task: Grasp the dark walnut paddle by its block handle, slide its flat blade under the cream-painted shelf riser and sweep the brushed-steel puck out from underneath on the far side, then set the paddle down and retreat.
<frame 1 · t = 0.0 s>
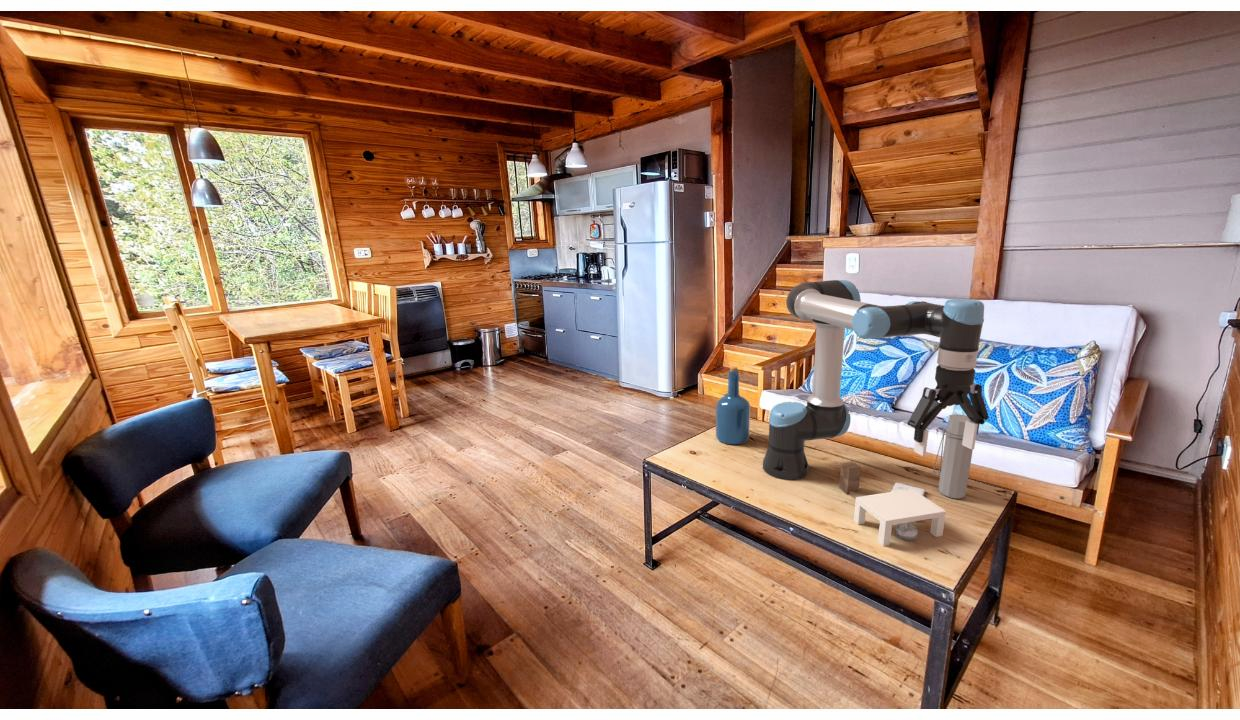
hand: (944, 450, 118), 28 cm above the table, fingers open, 13 cm apart
walnut paddle: (848, 490, 155), on the table
external hard drive: (905, 499, 150), on the table
water bottle: (947, 493, 151), on the table
shelf riser: (896, 528, 135), on the table
steel puck: (906, 536, 132), on the table
wine bottle: (732, 439, 197), on the table
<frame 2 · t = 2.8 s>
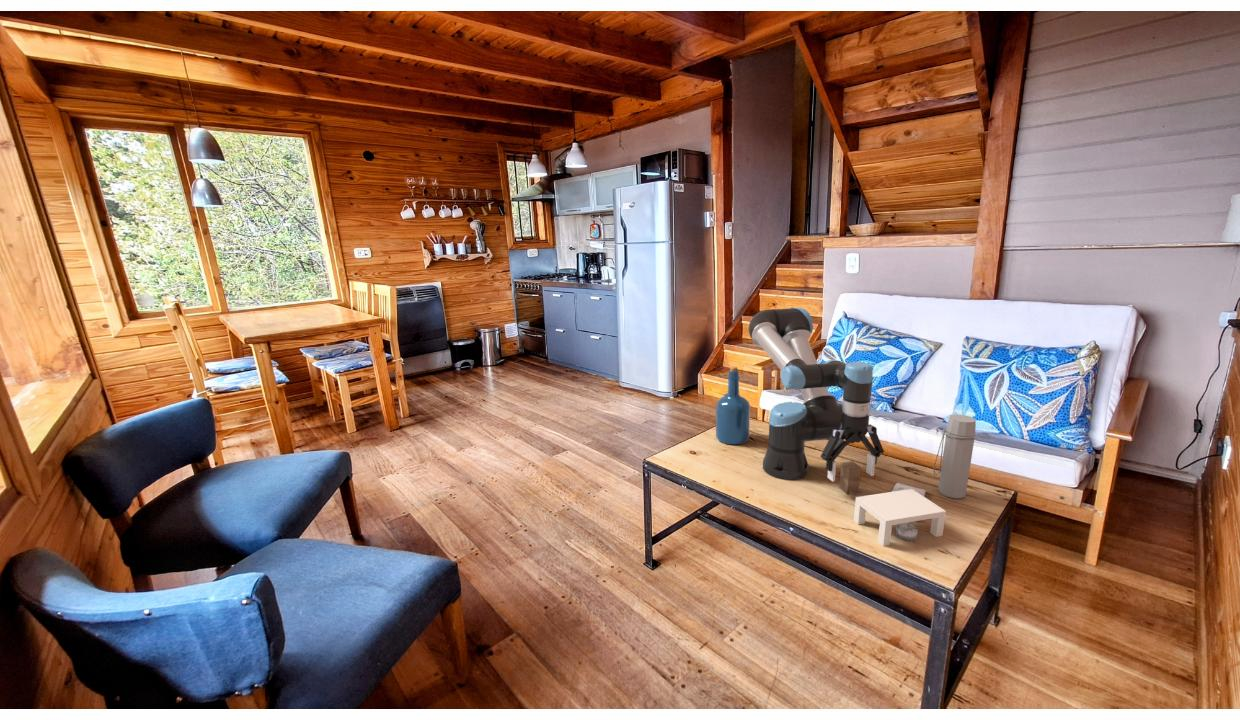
hand: (850, 476, 153), 5 cm above the table, fingers open, 13 cm apart
nothing on the table moved.
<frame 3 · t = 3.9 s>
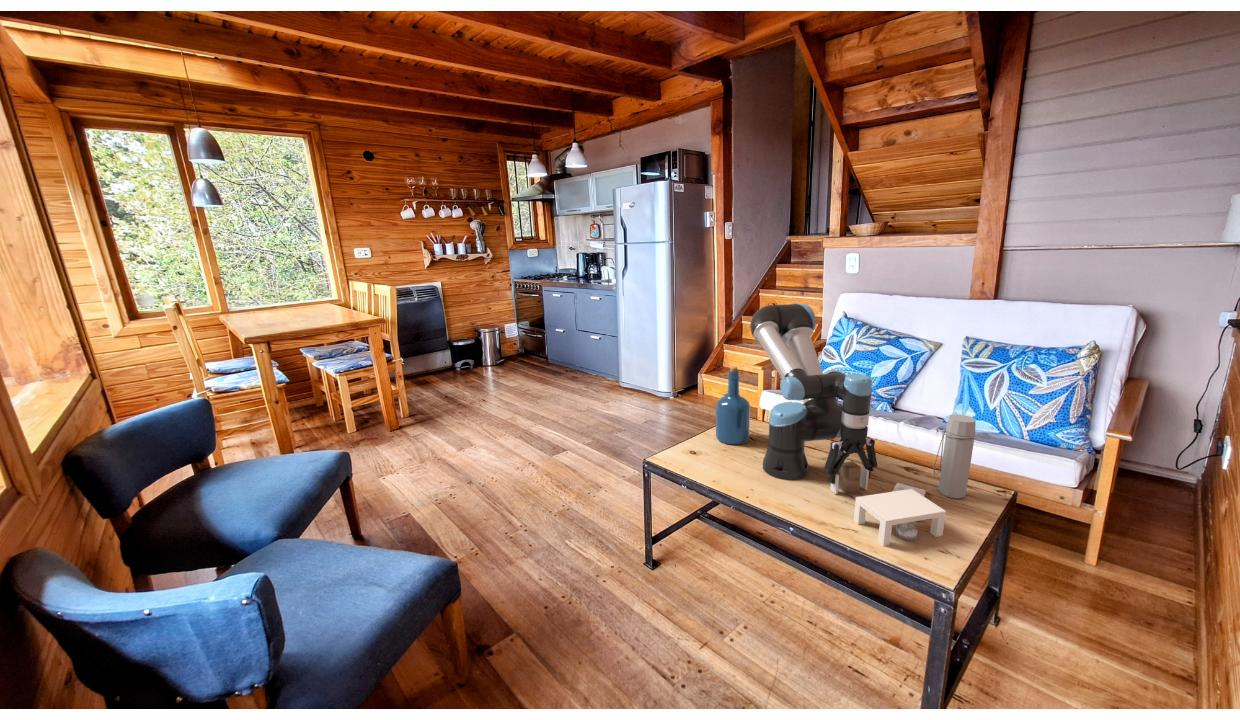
hand: (848, 489, 155), 0 cm above the table, fingers open, 10 cm apart
nothing on the table moved.
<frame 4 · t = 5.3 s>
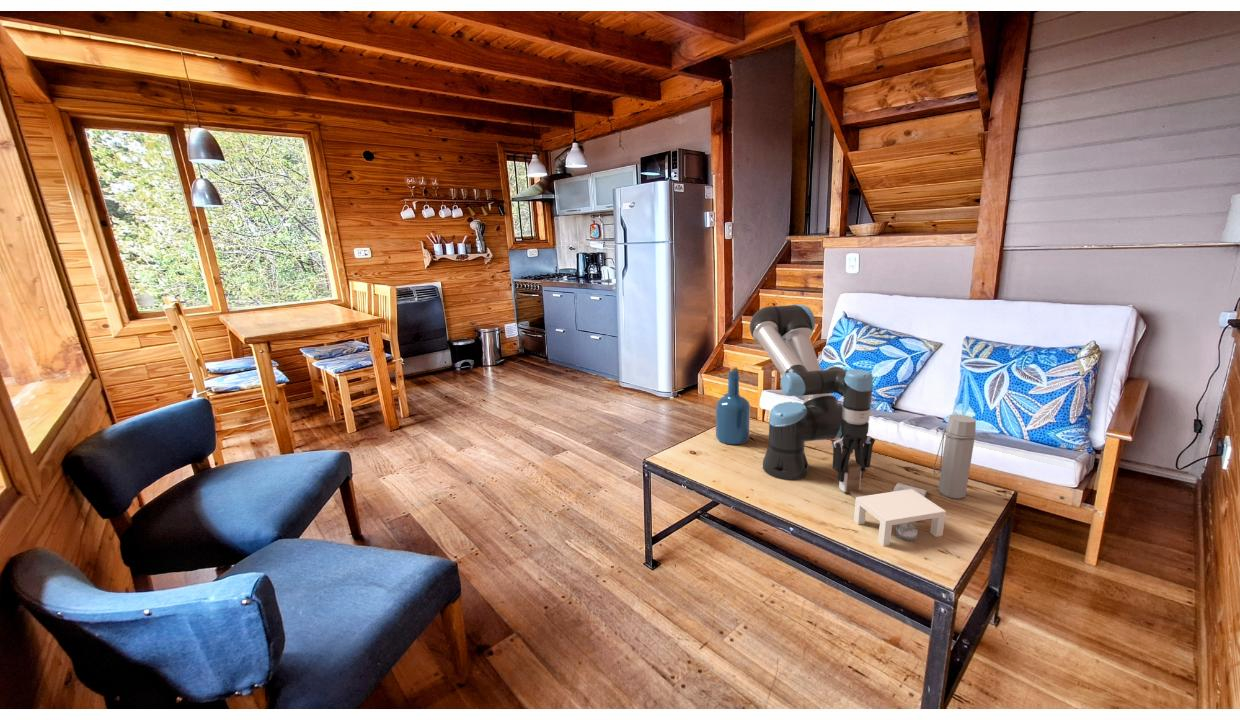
hand: (849, 488, 155), 1 cm above the table, fingers closed on walnut paddle, 4 cm apart
walnut paddle: (849, 489, 155), on the table, touching gripper
everything else where it was.
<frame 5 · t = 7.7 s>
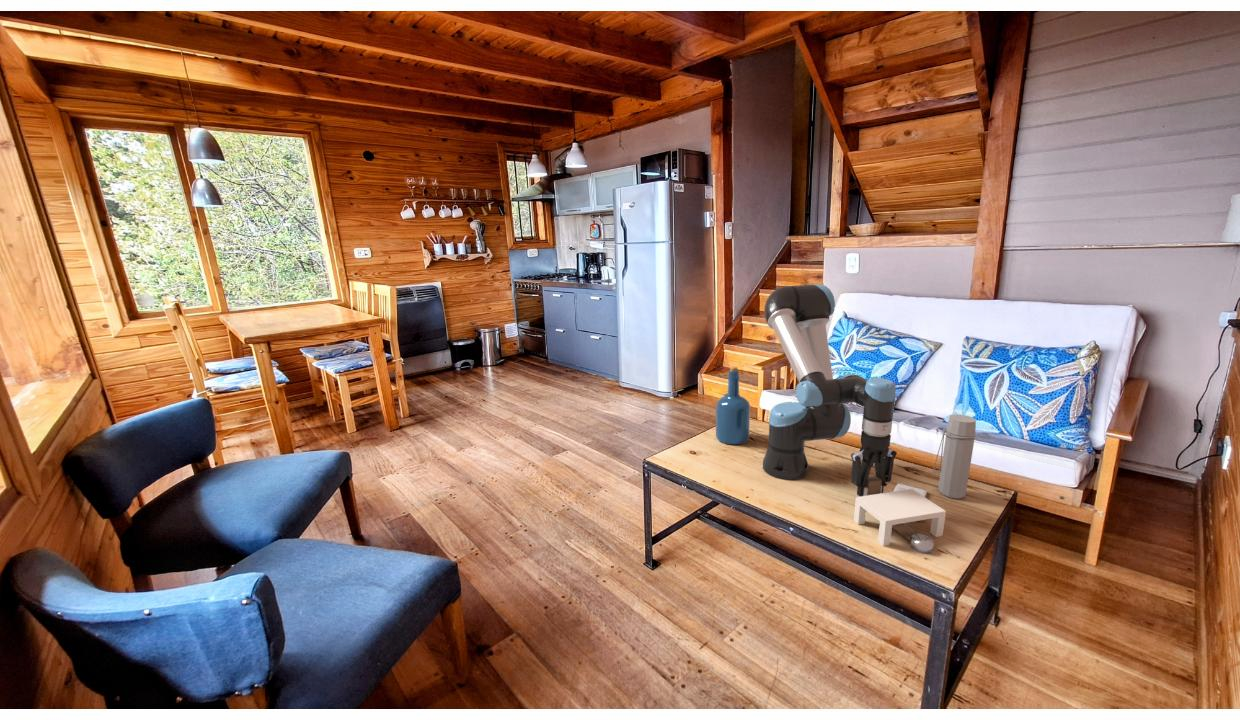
hand: (868, 504, 146), 1 cm above the table, fingers closed on walnut paddle, 4 cm apart
walnut paddle: (868, 504, 146), on the table, touching gripper
steel puck: (921, 548, 127), on the table
everything else where it was.
when the fingers open (1 cm above the table, at t = 9.3 s): walnut paddle stays where it is, on the table.
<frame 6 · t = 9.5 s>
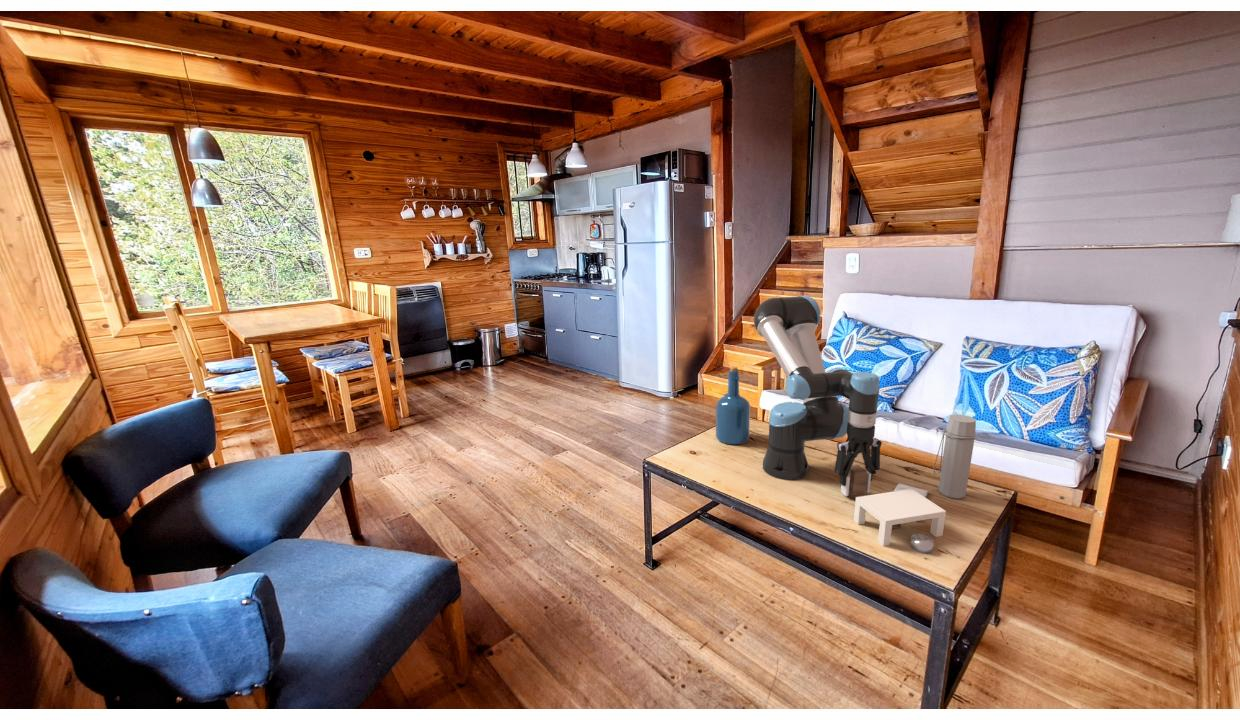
hand: (854, 492, 152), 1 cm above the table, fingers open, 7 cm apart
walnut paddle: (854, 494, 152), on the table
everything else where it was.
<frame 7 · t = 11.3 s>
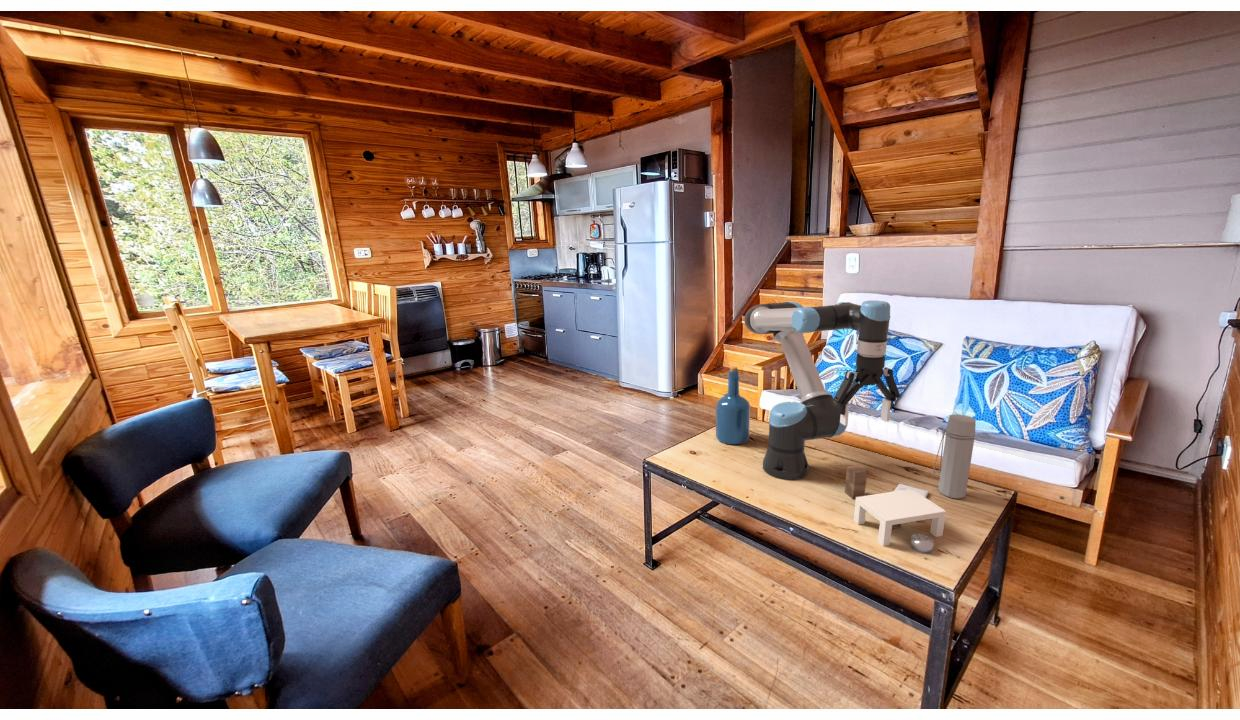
hand: (864, 422, 148), 24 cm above the table, fingers open, 13 cm apart
nothing on the table moved.
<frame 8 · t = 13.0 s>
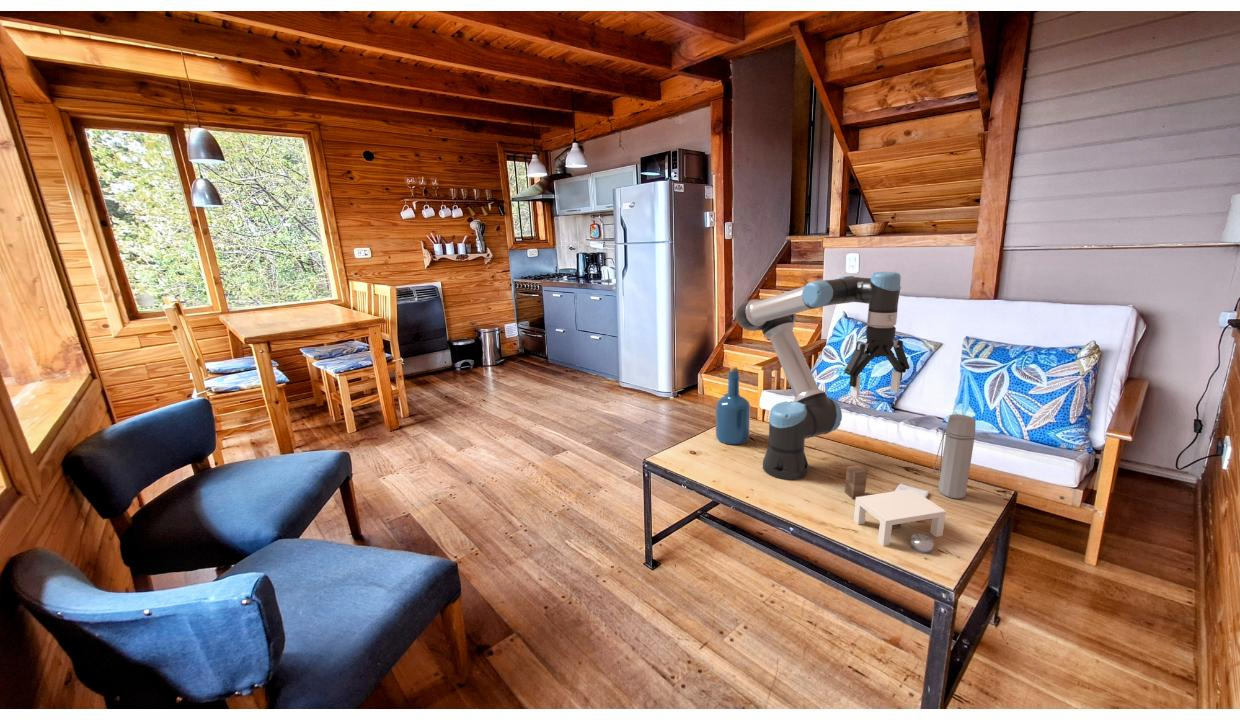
hand: (874, 394, 148), 32 cm above the table, fingers open, 13 cm apart
nothing on the table moved.
at the end: steel puck inside the target area (5.2 cm from its centre), on the table; the gripper is holding nothing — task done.
